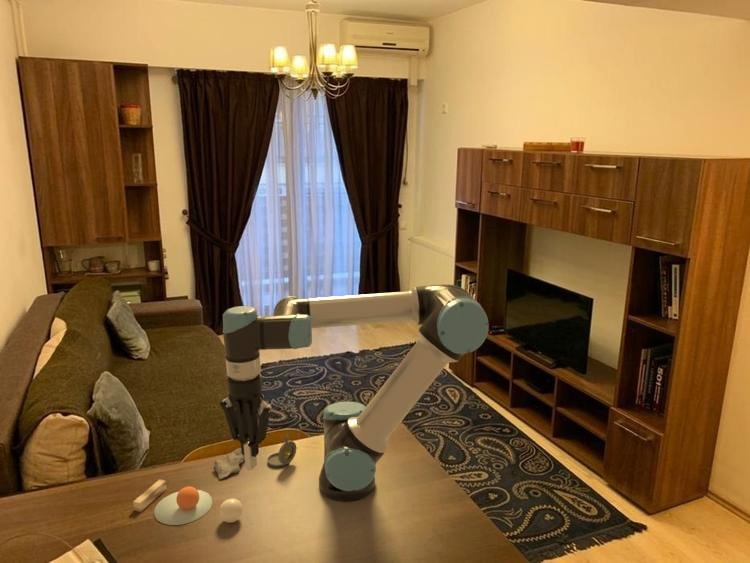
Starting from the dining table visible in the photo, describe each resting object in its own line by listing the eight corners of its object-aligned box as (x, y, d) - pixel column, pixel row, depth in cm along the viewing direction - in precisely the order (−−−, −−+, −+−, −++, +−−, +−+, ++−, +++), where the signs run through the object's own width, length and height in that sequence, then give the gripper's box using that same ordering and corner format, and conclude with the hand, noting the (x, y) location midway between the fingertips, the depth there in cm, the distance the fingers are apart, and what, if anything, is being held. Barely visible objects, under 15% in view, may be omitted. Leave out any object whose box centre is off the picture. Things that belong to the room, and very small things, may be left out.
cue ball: (238, 490, 138) (235, 506, 140) (217, 497, 135) (214, 514, 137) (248, 506, 134) (244, 522, 137) (226, 514, 131) (223, 531, 133)
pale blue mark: (209, 485, 150) (209, 484, 150) (215, 516, 138) (215, 515, 138) (153, 497, 145) (153, 496, 145) (154, 531, 133) (154, 530, 132)
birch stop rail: (160, 487, 149) (159, 479, 149) (166, 489, 149) (165, 480, 148) (134, 510, 140) (133, 501, 139) (140, 511, 139) (139, 503, 139)
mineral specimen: (258, 467, 161) (258, 453, 160) (221, 482, 152) (221, 467, 151) (245, 457, 165) (246, 444, 164) (208, 471, 156) (209, 457, 155)
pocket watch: (270, 455, 165) (268, 424, 162) (298, 455, 165) (297, 424, 162) (264, 471, 157) (262, 439, 154) (293, 471, 157) (292, 439, 154)
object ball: (199, 481, 143) (193, 496, 145) (177, 482, 140) (172, 498, 142) (204, 498, 139) (197, 513, 141) (182, 500, 136) (176, 516, 138)
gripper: (209, 377, 125) (218, 471, 130) (261, 384, 121) (268, 480, 126) (228, 365, 132) (235, 454, 137) (277, 371, 128) (283, 462, 133)
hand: (251, 466), depth 132 cm, fingers closed
